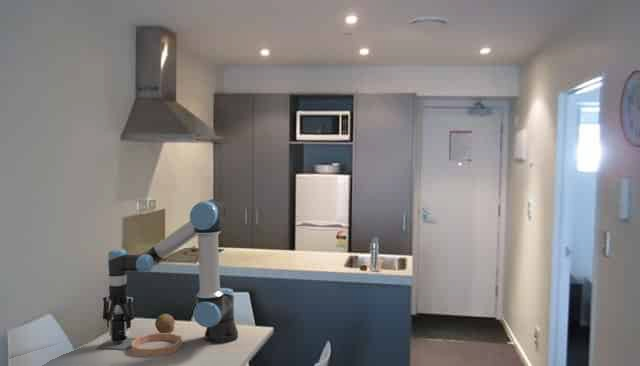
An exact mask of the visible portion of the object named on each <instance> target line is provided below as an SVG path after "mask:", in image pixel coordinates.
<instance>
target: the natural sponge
mask: <svg viewBox="0 0 640 366" xmlns="http://www.w3.org/2000/svg"><path fill="white" fill-rule="evenodd" d="M154 322H155V323H154V325H155V328H156V330H157V331H158V333H172V332H173V331H174V329H175V323H176V322H175V319H174V317H173V316H172V315H170V314H168V313H163V314H160V315H159V316H158V317H157V318H156V320H155V321H154Z"/></svg>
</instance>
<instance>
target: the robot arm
mask: <svg viewBox="0 0 640 366" xmlns="http://www.w3.org/2000/svg"><path fill="white" fill-rule="evenodd" d="M227 215H228V209H227V206H226V205H225V203H224V202H222V201H221V200H219V199H214V198H213V199H207V200H202V201H200V202H197V203H196V204H195V205H194V206H192V209H191V210H190V213H189V221H188V222H186V223H184V224H183V225H182V226H181V227H179V228H177V229H176V230H174V231H173V232H172V233H170V234H169V235H168V236H167V237H165V238H163V239H162V240H161V241H159V242H158V243H156V244H154V246H152V247H150V248H149V249H147V250H146V251H144V252H140V253H136V254H127V250H126V249H123V248H119V249H118V248H117V249H111V250H109V252H108V255H107V256H108V258H107V263H108V264H107V265H108V284H109V285H108V293H109V294H108V296H104V297H103V298H102V302H103V311H102V312H103V313H102V319H103V320H105V321H106V325H107V328H108V336H110V337H111V321H112V319H113V313H115V311H116V310H115V309H116V306H119V307H120V309H121V310H122V311H121V312H123V314H124V316H125V317H124V318H125V319H126V321H125V322H124V328H125V336H127V337H128V336H129V335H130V328H131V327H132V326H131V325H132V322H131V321H133V320H134V319H135V317H136V316H135V308H134V299H135V298H134V297H133V296H131V297H130V296H128V284H127V283H128V281H127V280H128V279H127V277H128V276H127V274H128V273H127V272H132V273H133V272H135V273H136V272H137V273H146V272H147V273H149V272H150V271H152V269H153V267H154V266H157V265H159V264H160V263H161V262H162V261H163V260H164V259H166V258H167V257H168V256H170V255H171V254H173V253H174V252H176V251H177V250H179V249H180V248H182V247H183V246H185V244H187V243H189V242H190V241H192V240H193V239H195V238H196V237H197V245H198V246H197V247H198V270H199V272H198V273H199V276H198V277H199V278H198V279H199V291H198V293H197V294H196V305H195V306H194V309H193V313H192V314H193V318H194V320H195V322H196V323H197V324H198V325H199V326H201V327H203V328H206V329H205V333H204V340H205V342H208V343H212V344H226V343H231V342H233V341H236V340H237V339H238V338H239V332H238V329H237V325H236V323H235V310H234V309H235V308H234V307H235V305H234V304H235V303H234V302H235V301H234V297H235V295H234V290H233V289H232V288H228V287H221V285H220V284H221V282H220V254H219V251H220V250H219V235H220V233H221V232H222V223H223V222H225V220H226V217H227ZM110 302H111V303H110Z"/></svg>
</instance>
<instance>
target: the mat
mask: <svg viewBox="0 0 640 366" xmlns="http://www.w3.org/2000/svg"><path fill="white" fill-rule="evenodd" d="M136 338H137V337H127V339H126V340H123V341H112V340H111V338H109V339H107V340H106V341H104V342H102V343H101V344H99V345H98V346H96V347H95V349H96V350H98V349H100V350H116V351H128V349H130V348H132V344H131V342H132V341H133V340H135V339H136Z"/></svg>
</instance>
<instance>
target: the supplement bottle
mask: <svg viewBox="0 0 640 366" xmlns="http://www.w3.org/2000/svg"><path fill="white" fill-rule="evenodd" d="M111 320H112V321H111V336H110V339H111V340H112V341H123V340H126V339H127V338H128V336H125V328H124V322H125V321H126V319H125V316H124V314H123V311H116V312H115V311H114V313H113V316H112V319H111Z"/></svg>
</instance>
